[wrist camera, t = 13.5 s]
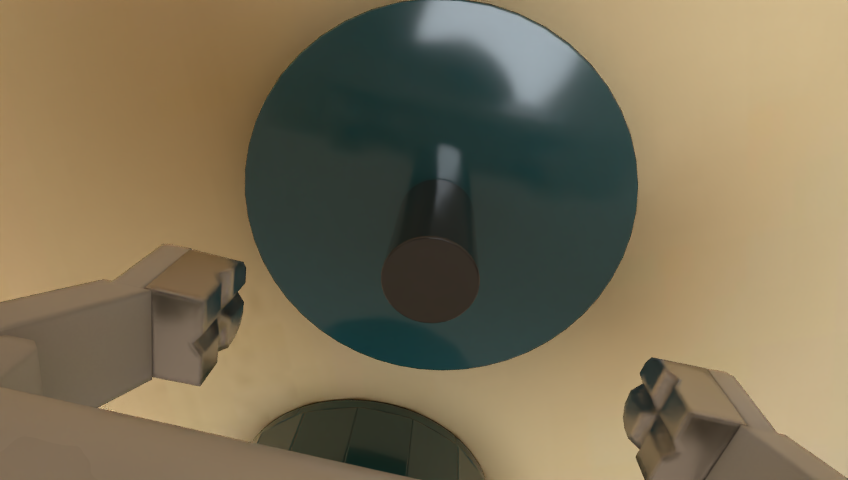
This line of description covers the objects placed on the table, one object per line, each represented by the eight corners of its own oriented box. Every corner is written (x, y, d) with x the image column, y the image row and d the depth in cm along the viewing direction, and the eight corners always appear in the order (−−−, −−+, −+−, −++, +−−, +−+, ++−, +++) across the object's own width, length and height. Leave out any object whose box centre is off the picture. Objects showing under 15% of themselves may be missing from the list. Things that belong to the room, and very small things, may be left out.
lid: (244, 313, 19) (168, 419, 14) (274, -49, 14) (172, -86, 9) (554, 382, 20) (588, 508, 15) (694, 56, 15) (821, 77, 10)
